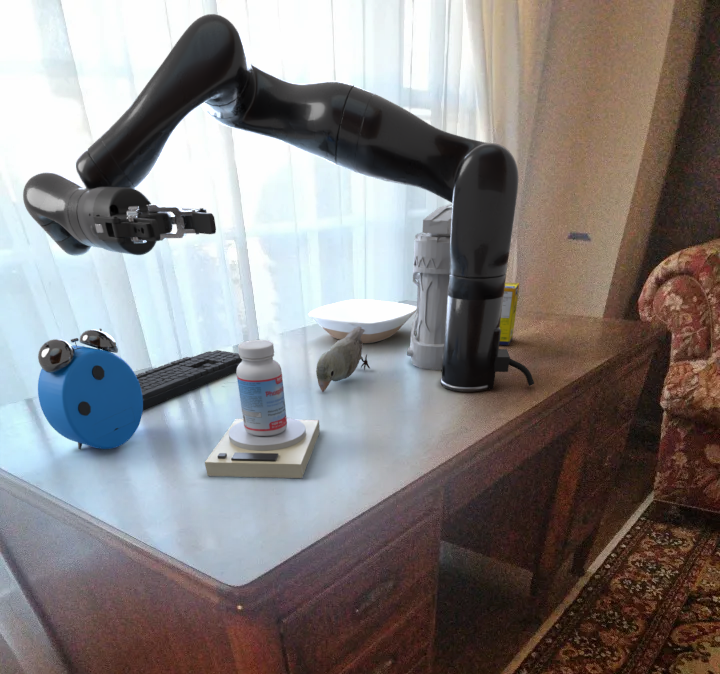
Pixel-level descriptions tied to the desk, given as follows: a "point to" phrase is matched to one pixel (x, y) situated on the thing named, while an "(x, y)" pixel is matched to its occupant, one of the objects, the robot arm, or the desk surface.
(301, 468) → the scale
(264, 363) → the pill bottle
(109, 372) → the alarm clock
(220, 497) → the desk surface
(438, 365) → the lantern
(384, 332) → the bowl
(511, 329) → the supplement box
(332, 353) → the decorative bird
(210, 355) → the keyboard
